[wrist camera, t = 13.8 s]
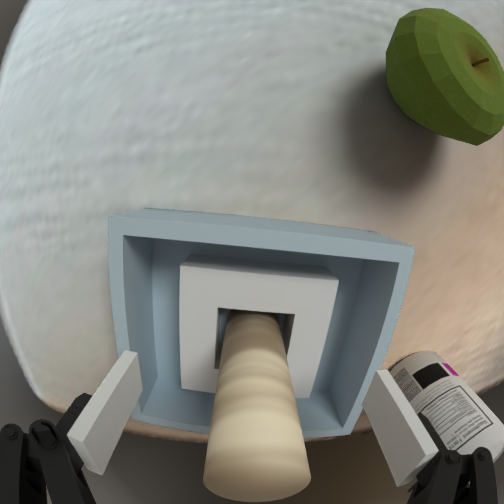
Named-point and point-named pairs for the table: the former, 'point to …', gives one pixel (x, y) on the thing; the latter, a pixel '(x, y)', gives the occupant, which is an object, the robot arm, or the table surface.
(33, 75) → the table surface
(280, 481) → the peg
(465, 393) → the supplement can
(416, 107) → the apple
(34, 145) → the table surface
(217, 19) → the table surface
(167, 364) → the crate
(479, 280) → the table surface
